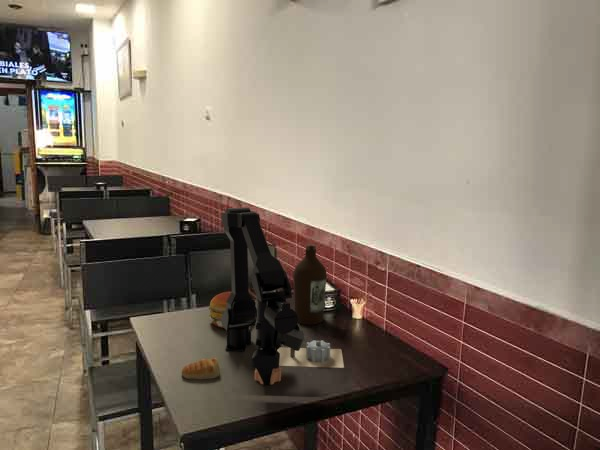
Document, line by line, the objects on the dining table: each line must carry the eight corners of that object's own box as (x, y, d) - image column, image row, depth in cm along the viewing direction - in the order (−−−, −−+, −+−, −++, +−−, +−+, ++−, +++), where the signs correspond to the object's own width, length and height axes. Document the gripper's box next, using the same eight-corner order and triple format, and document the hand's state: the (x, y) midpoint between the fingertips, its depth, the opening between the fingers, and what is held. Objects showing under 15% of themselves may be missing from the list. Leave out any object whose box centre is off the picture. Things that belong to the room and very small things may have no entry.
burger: (253, 316, 165) (253, 287, 163) (249, 332, 152) (249, 301, 150) (212, 315, 165) (212, 286, 163) (205, 331, 151) (204, 300, 150)
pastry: (183, 384, 120) (183, 369, 120) (179, 371, 126) (179, 357, 126) (222, 378, 124) (221, 363, 123) (216, 366, 130) (216, 352, 129)
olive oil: (285, 318, 163) (287, 244, 158) (308, 311, 170) (310, 240, 166) (308, 328, 155) (311, 250, 151) (331, 320, 163) (334, 245, 158)
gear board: (266, 369, 128) (266, 348, 127) (269, 351, 139) (269, 331, 138) (343, 372, 128) (344, 351, 127) (341, 353, 139) (341, 334, 138)
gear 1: (253, 388, 119) (253, 374, 118) (256, 375, 125) (256, 362, 124) (280, 389, 118) (280, 375, 118) (281, 376, 125) (281, 363, 124)
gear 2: (305, 362, 130) (306, 346, 129) (306, 351, 136) (306, 336, 135) (330, 363, 130) (330, 346, 129) (329, 352, 136) (329, 337, 135)
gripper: (302, 334, 109) (300, 399, 112) (303, 305, 128) (301, 362, 130) (251, 333, 109) (251, 398, 112) (259, 304, 128) (259, 360, 131)
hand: (268, 378), depth 121 cm, fingers closed on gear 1, 6 cm apart
